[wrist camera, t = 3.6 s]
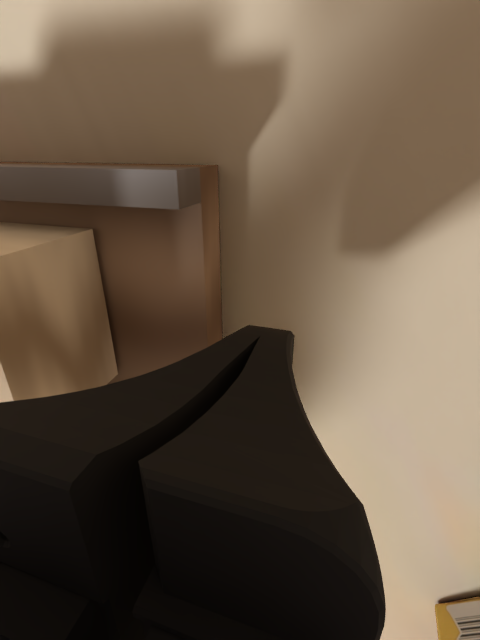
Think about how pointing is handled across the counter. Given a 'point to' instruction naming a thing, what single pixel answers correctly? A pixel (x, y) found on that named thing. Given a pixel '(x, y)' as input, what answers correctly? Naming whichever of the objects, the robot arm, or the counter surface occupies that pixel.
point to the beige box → (51, 313)
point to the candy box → (459, 619)
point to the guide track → (136, 248)
